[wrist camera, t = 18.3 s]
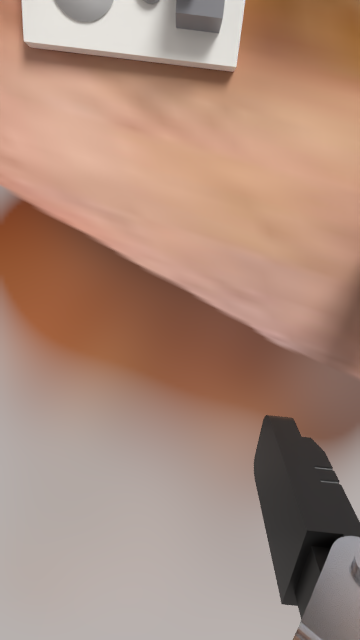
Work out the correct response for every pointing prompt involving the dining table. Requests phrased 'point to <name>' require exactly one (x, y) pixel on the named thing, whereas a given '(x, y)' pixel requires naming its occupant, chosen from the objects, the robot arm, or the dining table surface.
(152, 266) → the dining table surface
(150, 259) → the dining table surface
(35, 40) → the panel
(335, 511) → the robot arm
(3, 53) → the dining table surface
